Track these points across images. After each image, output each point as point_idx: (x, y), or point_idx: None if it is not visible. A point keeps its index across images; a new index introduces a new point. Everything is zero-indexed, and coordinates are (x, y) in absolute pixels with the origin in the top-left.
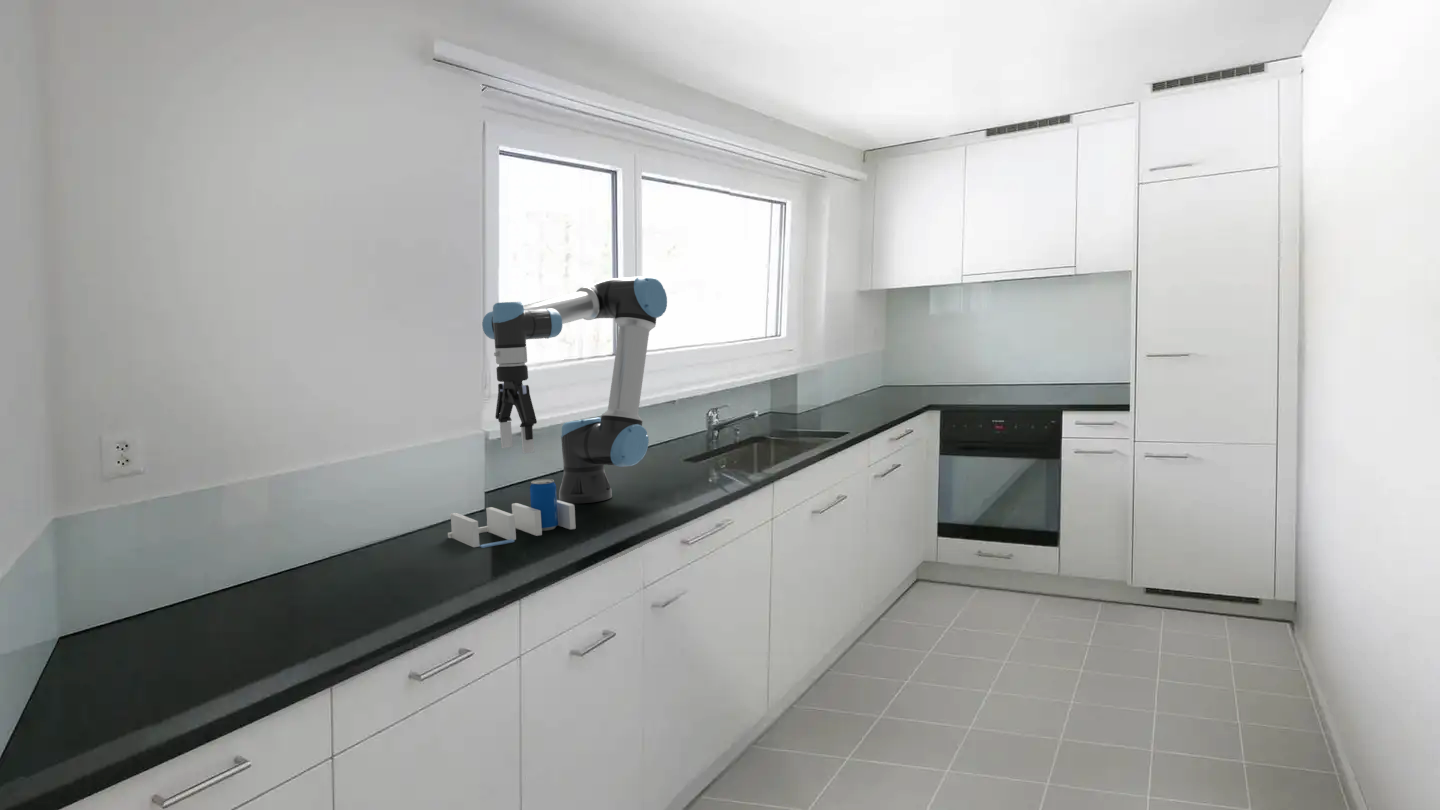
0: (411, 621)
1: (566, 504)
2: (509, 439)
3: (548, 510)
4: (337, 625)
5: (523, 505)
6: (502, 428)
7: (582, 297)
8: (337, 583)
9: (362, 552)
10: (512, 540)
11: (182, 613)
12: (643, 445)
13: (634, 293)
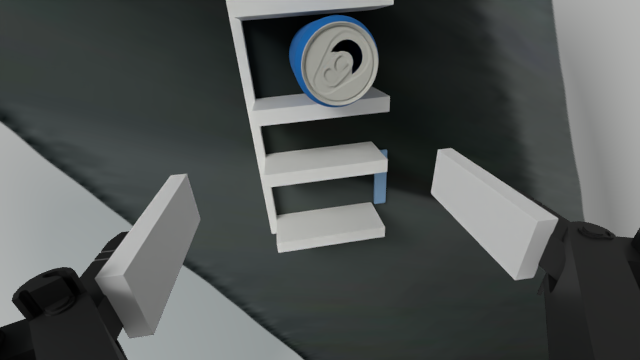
0: None
1: (371, 1)
2: (178, 208)
3: (359, 60)
4: (534, 337)
5: (297, 109)
6: (165, 290)
7: None
8: (412, 339)
9: (287, 321)
10: (386, 153)
11: None
12: None
13: None
